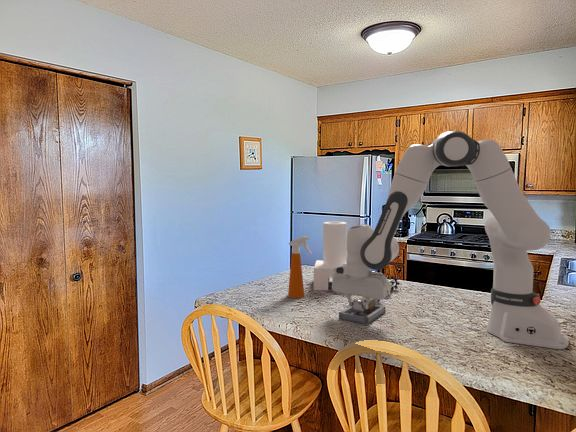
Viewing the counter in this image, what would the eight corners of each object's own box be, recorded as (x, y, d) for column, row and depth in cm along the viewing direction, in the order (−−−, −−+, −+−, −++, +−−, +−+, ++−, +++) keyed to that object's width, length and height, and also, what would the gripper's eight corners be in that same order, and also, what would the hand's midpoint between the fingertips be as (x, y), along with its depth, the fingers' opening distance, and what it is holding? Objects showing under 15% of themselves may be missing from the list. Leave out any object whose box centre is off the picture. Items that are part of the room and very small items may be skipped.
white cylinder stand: (316, 279, 199) (316, 220, 197) (354, 280, 196) (354, 220, 194) (313, 289, 181) (313, 224, 178) (355, 291, 178) (355, 225, 175)
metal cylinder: (361, 319, 140) (361, 302, 139) (351, 317, 142) (351, 300, 142) (366, 316, 143) (366, 300, 142) (356, 314, 145) (356, 298, 145)
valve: (391, 297, 168) (399, 290, 179) (392, 282, 168) (399, 276, 178) (376, 295, 172) (385, 288, 182) (377, 280, 171) (385, 274, 181)
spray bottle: (310, 299, 165) (310, 237, 163) (285, 297, 168) (285, 236, 166) (314, 295, 172) (314, 235, 169) (291, 293, 175) (290, 234, 173)
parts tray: (385, 312, 149) (385, 306, 148) (367, 324, 136) (367, 318, 136) (358, 307, 155) (358, 301, 155) (338, 318, 142) (338, 312, 142)
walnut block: (374, 311, 149) (375, 298, 148) (369, 314, 145) (370, 301, 145) (363, 308, 151) (363, 296, 151) (358, 312, 148) (358, 299, 147)
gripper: (390, 271, 138) (389, 310, 139) (338, 264, 149) (338, 300, 151) (383, 275, 132) (382, 315, 134) (329, 267, 144) (329, 304, 146)
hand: (358, 307), depth 142 cm, fingers closed on metal cylinder, 4 cm apart
